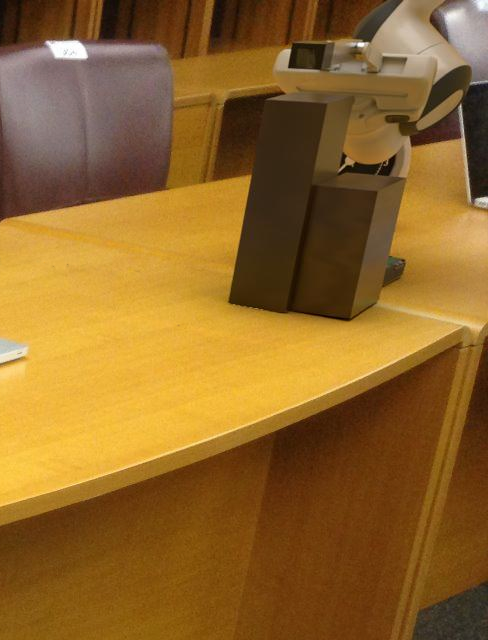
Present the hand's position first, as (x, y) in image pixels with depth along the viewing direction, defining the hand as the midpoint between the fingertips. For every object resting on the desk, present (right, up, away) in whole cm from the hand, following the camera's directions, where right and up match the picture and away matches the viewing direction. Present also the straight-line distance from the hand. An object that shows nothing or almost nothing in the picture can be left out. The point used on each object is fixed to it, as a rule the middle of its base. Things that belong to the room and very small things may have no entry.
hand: (346, 46), depth 201 cm
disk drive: (+9, -25, +21) cm, 34 cm away
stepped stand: (-3, -32, +5) cm, 33 cm away
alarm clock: (+24, -8, +55) cm, 61 cm away
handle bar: (-5, -4, -4) cm, 7 cm away
